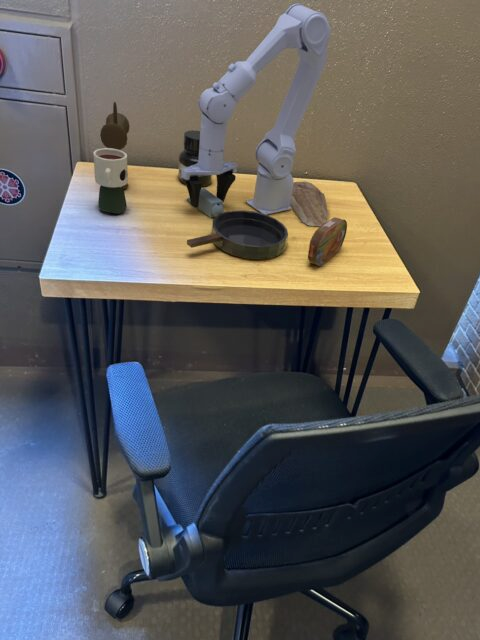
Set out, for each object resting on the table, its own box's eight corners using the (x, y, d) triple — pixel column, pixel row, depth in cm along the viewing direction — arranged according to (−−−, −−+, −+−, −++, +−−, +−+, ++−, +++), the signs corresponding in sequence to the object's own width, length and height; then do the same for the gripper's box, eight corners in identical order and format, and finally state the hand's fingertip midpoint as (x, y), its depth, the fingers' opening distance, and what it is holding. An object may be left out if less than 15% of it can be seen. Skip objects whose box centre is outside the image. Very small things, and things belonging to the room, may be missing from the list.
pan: (254, 218, 131) (256, 205, 129) (300, 251, 122) (303, 237, 120) (196, 231, 121) (197, 217, 119) (241, 267, 112) (243, 253, 110)
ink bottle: (176, 172, 145) (178, 127, 137) (208, 174, 147) (211, 129, 140) (180, 187, 138) (182, 140, 130) (213, 189, 140) (217, 143, 133)
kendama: (103, 193, 128) (98, 106, 115) (107, 177, 135) (103, 93, 122) (128, 196, 129) (126, 110, 116) (131, 180, 136) (130, 97, 123)
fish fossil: (339, 227, 135) (340, 223, 134) (300, 228, 133) (301, 224, 132) (313, 183, 153) (314, 180, 152) (279, 184, 151) (279, 180, 150)
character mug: (125, 222, 119) (124, 165, 111) (92, 218, 118) (88, 161, 110) (131, 201, 127) (130, 147, 119) (100, 198, 126) (97, 143, 118)
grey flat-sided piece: (186, 200, 133) (187, 186, 130) (199, 198, 135) (200, 184, 132) (213, 221, 126) (214, 206, 124) (226, 218, 129) (227, 203, 126)
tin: (314, 271, 116) (322, 237, 111) (302, 266, 117) (309, 231, 112) (343, 248, 126) (352, 216, 121) (331, 243, 127) (340, 211, 122)
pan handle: (217, 236, 116) (218, 232, 115) (222, 240, 115) (222, 236, 114) (186, 244, 111) (186, 239, 111) (191, 248, 110) (191, 243, 110)
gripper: (227, 138, 127) (221, 192, 135) (175, 144, 118) (173, 201, 127) (244, 149, 123) (238, 204, 132) (192, 155, 115) (189, 213, 124)
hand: (207, 203), depth 129 cm, fingers open, 7 cm apart
